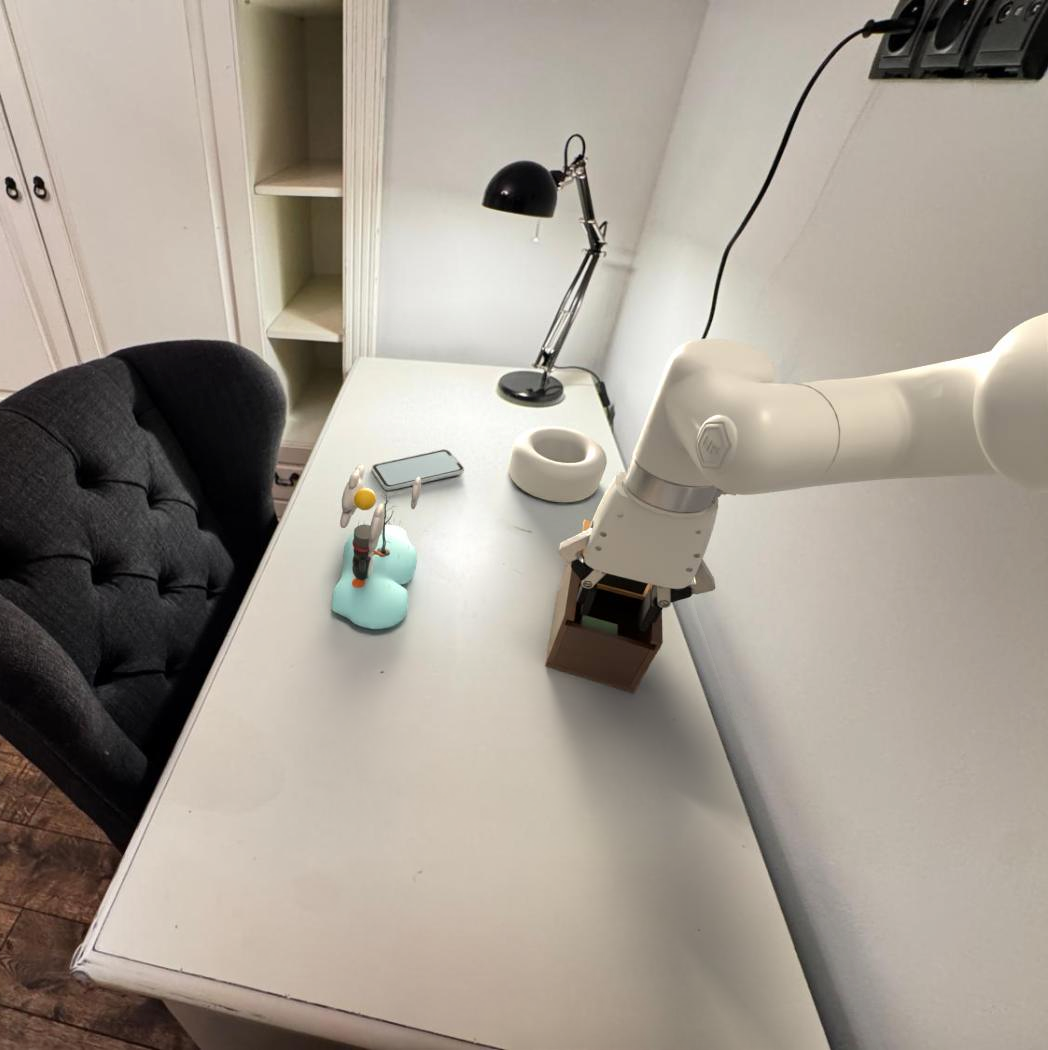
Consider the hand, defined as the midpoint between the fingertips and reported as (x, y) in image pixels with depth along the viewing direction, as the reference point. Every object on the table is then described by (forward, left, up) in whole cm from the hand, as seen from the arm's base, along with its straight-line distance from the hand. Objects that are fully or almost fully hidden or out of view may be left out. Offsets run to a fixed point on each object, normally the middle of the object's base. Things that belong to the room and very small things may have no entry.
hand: (613, 613), depth 63 cm
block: (0, -1, -8) cm, 8 cm away
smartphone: (+31, -30, -9) cm, 44 cm away
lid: (0, -10, -1) cm, 10 cm away
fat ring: (+9, -37, -9) cm, 39 cm away
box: (0, -4, -9) cm, 10 cm away
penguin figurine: (+29, -3, -9) cm, 31 cm away
